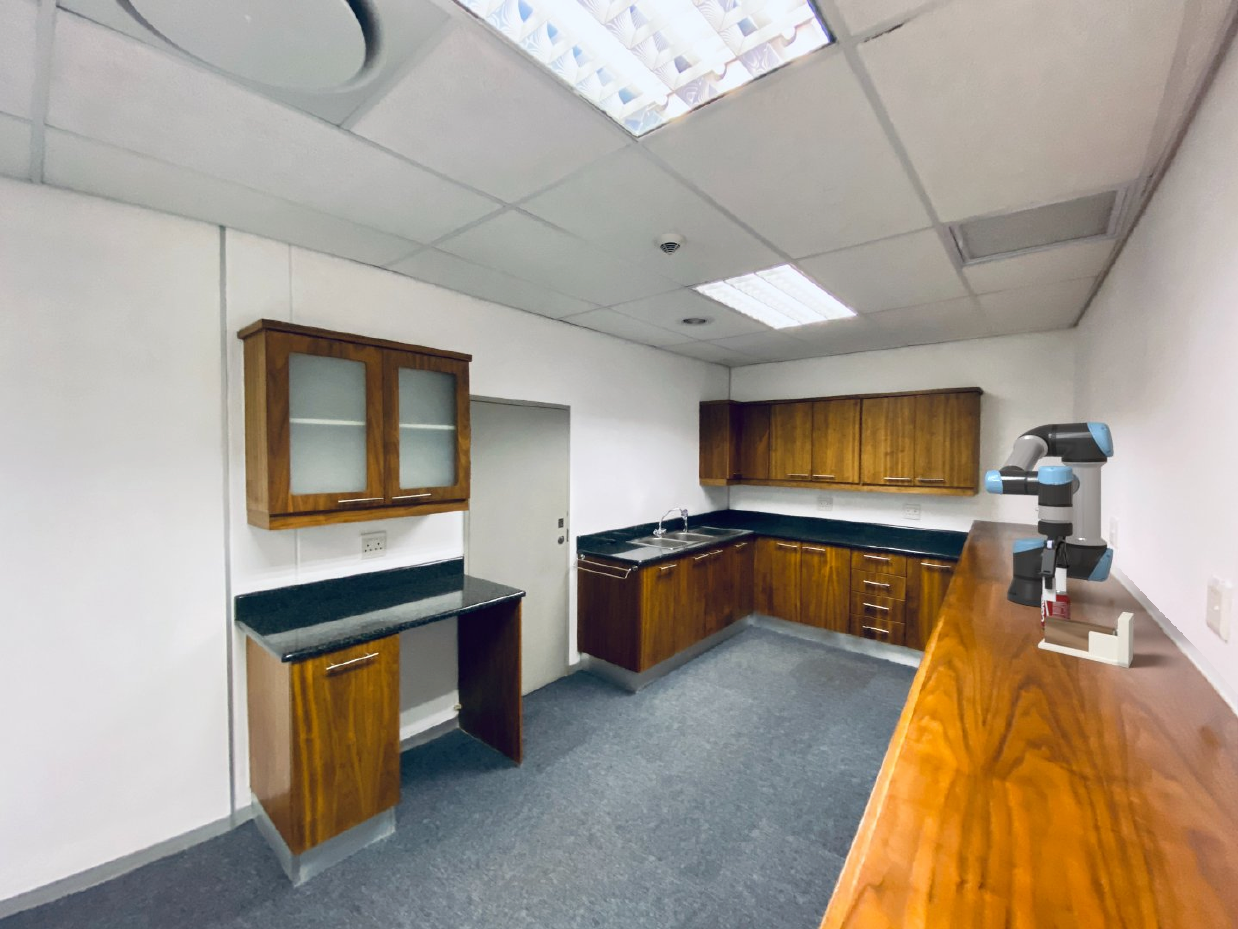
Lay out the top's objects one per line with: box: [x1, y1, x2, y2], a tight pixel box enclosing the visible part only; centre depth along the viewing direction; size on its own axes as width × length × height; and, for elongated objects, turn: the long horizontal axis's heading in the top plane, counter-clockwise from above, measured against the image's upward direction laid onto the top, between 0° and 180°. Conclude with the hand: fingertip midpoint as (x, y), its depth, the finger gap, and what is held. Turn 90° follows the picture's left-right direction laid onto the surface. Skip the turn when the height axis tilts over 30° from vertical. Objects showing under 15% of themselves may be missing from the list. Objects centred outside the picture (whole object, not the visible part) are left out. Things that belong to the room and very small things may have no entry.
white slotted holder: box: [1037, 611, 1135, 669], centre depth 139 cm, size 10×18×12 cm, turn 39°
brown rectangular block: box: [1044, 615, 1118, 652], centre depth 140 cm, size 4×14×7 cm, turn 39°
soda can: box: [1040, 590, 1071, 630], centre depth 156 cm, size 7×7×12 cm
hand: (1054, 595), depth 144 cm, fingers open, 13 cm apart
